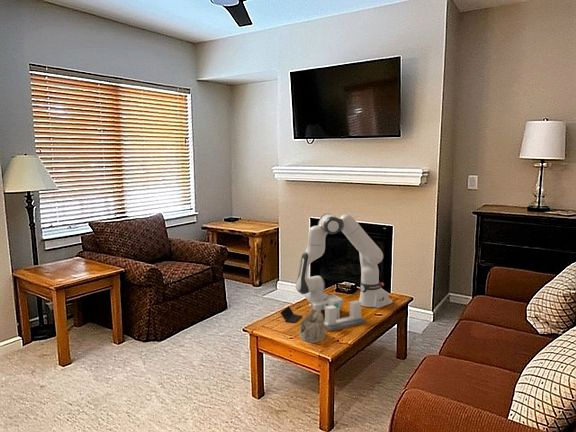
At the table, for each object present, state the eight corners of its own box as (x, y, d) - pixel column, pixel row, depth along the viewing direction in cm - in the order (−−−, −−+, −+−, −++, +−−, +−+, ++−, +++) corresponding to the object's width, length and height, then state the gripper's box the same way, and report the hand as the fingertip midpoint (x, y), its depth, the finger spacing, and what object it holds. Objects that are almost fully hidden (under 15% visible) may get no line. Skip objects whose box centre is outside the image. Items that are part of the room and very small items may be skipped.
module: (334, 314, 259) (334, 297, 258) (339, 318, 254) (339, 300, 253) (328, 316, 257) (328, 298, 256) (333, 319, 252) (333, 301, 251)
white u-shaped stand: (355, 316, 256) (355, 298, 254) (366, 322, 247) (366, 303, 245) (319, 325, 244) (319, 305, 243) (329, 331, 236) (329, 311, 234)
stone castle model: (308, 326, 242) (307, 301, 239) (331, 335, 231) (331, 309, 228) (289, 337, 231) (288, 311, 228) (313, 347, 220) (312, 320, 217)
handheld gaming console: (298, 321, 247) (288, 306, 248) (288, 327, 248) (278, 313, 250) (303, 316, 258) (294, 302, 259) (294, 322, 259) (284, 308, 261)
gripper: (307, 298, 261) (319, 305, 249) (335, 293, 270) (348, 299, 258) (307, 308, 262) (319, 316, 250) (335, 302, 271) (348, 309, 259)
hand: (334, 307), depth 254 cm, fingers open, 5 cm apart
